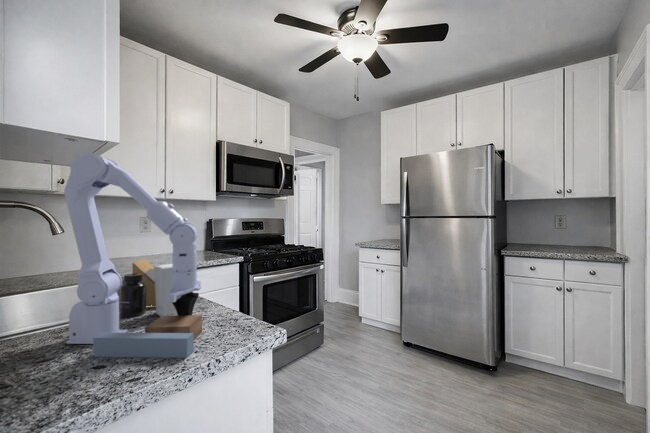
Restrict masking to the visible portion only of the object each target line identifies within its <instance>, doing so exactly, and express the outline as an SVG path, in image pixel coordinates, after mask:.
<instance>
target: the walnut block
mask: <svg viewBox="0 0 650 433" xmlns="http://www.w3.org/2000/svg"><path fill="white" fill-rule="evenodd" d="M144 333H194V341H195V340H196V339H197V338H198V337H199V336H200V335H201V333H203V315H202V314H192V315H184V316H159V318H156V319H155V320H154V321H153V322H151V323H150V324H148V325H146V326H145V327H144Z"/></svg>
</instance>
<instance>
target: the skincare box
mask: <svg viewBox="0 0 650 433" xmlns="http://www.w3.org/2000/svg"><path fill="white" fill-rule="evenodd" d="M153 267H154V275H155V298H156V307H155V314H156V315H158V316H159V317H161V316H178V314H177V311H176V309H175V307H174V305H173V304H172V302H166V294H168V293H169V292H170V290H171V289H172V288H173V275H172V263H168V264H166V263H165V264H159V265H153Z"/></svg>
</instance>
